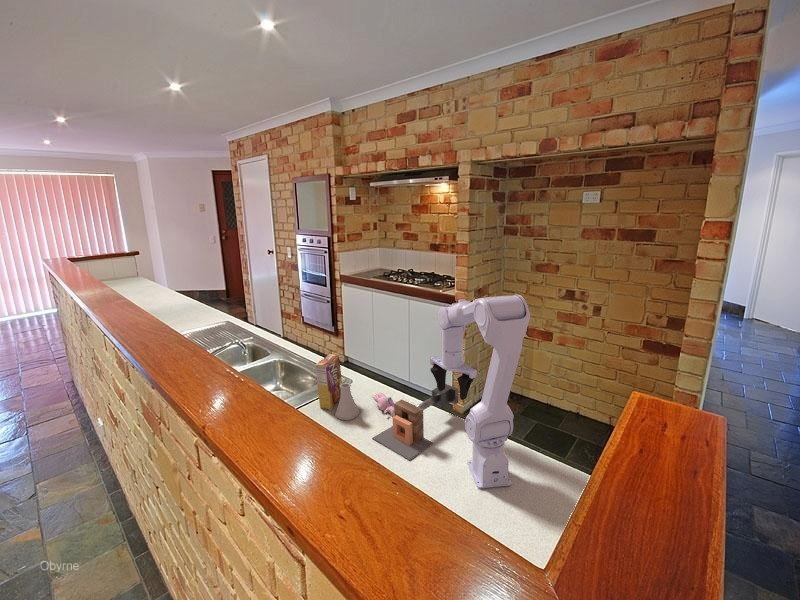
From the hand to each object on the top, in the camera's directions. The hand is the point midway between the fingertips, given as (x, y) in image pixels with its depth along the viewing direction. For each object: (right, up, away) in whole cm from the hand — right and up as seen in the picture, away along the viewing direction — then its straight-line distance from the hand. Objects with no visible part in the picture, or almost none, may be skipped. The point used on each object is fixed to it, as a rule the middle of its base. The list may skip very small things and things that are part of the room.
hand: (452, 394), depth 110 cm
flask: (-31, -9, +11) cm, 34 cm away
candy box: (-37, -7, +19) cm, 43 cm away
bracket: (-12, -12, -2) cm, 17 cm away
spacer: (-14, -12, -3) cm, 19 cm away
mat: (-14, -12, -4) cm, 19 cm away
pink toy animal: (-19, -9, +13) cm, 24 cm away
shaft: (-6, -5, +3) cm, 9 cm away
